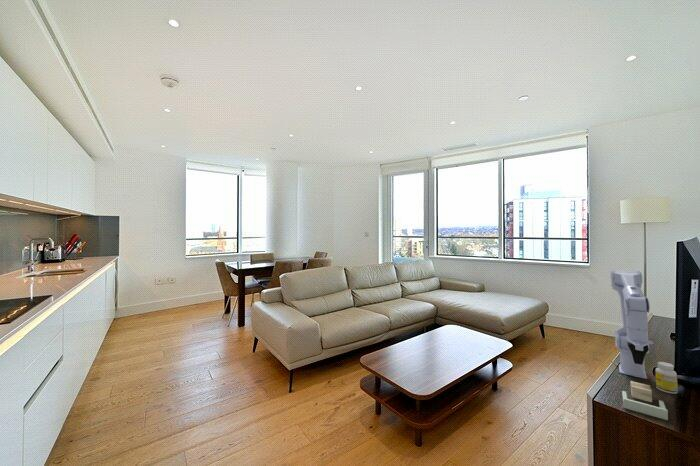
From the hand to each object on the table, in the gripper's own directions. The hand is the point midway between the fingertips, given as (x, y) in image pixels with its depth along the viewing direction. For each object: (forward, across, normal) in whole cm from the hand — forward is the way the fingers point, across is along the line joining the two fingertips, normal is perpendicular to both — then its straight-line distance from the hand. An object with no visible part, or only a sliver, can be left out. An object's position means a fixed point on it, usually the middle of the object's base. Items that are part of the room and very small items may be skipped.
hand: (638, 363), depth 106 cm
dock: (+9, -16, 0) cm, 19 cm away
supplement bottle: (+10, +4, -8) cm, 13 cm away
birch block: (+10, -8, 0) cm, 12 cm away
